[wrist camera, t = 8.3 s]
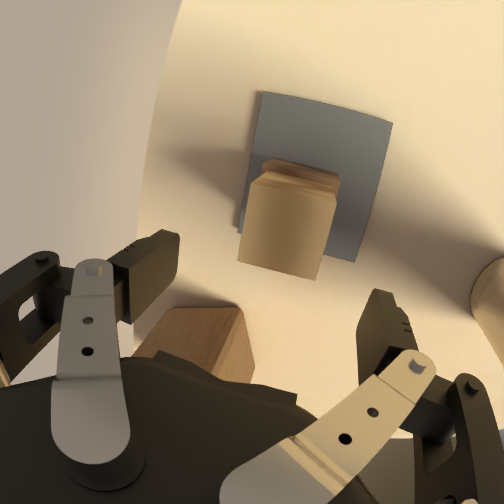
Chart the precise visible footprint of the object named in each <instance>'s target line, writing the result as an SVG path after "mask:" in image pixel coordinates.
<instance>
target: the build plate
mask: <svg viewBox="0 0 504 504" xmlns="http://www.w3.org/2000/svg"><path fill="white" fill-rule="evenodd" d="M392 125H393V123H392V122H389V121H385V120H382V119H379V118H376V117H373V116H369V115H366V114H363V113H359V112H356V111H352V110H348V109H345V108H341V107H337V106H333V105H329V104H325V103H321V102H316V101H312V100H307V99H303V98H298V97H293V96H288V95H282V94H277V93H271V92H265V91H263V96H262V101H261V106H260V111H259V116H258V122H257V127H256V132H255V137H254V143H253V148H252V153H251V159H250V164H249V170H248V175H247V181H246V186H245V192H244V197H243V203H242V208H241V214H240V220H239V225H238V231H237V233H241V234H242V230H243V224H244V219H245V213H246V208H247V202H248V196H249V191H250V185H251V183H252V182H253V181H254V180H256V179H257V178H258V177H260V176H261V171H262V165H263V162H265V161H267V160H269V159H271V158H277V159H281V160H286V161H290V162H295V163H299V164H303V165H307V166H311V167H315V168H319V169H323V170H327V171H331V172H335V173H337V174H338V177H339V179H340V181H341V182H340V186H339V190H338V194H337V198H336V202H337V205H336V209H335V212H334V216H333V220H332V224H331V227H330V231H329V235H328V238H327V242H326V245H325V249H324V252H323V254H324V255H328V256H331V257H335V258H339V259H343V260H347V261H351V262H355V259H356V256H357V253H358V250H359V247H360V244H361V241H362V238H363V235H364V231H365V228H366V225H367V222H368V218H369V215H370V212H371V208H372V205H373V201H374V198H375V194H376V191H377V187H378V183H379V179H380V176H381V172H382V168H383V164H384V160H385V156H386V152H387V148H388V143H389V139H390V134H391V130H392Z"/></svg>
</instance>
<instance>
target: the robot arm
mask: <svg viewBox="0 0 504 504" xmlns="http://www.w3.org/2000/svg"><path fill="white" fill-rule="evenodd" d="M179 243H180V236H179V234H177V233H174V232H170V231H167V230H163V229H161V230H159V231H158V232H156V233H155V234H153V235H152V236H150V237H146V238H142V239H139V240H136V241H135V242H133V243H132V244H130V245H129V246H127V247H126V248H124V250H121V251H119V252H118V253H117V254H115V255H114V256H112V257H111V258H109V259H108V260H102V259H88V260H84V261H82V262H80V263H78V264H77V266H76V267H75V269H74V268H68V267H62V266H60V260H59V256H58V254H56V253H55V252H51V251H40V252H37V253H34V254H32V255H30V256H28V257H27V258H25V259H24V260H22V261H20V262H19V263H17V264H16V265H14V266H13V267H11V268H9V269H8V270H6V271H5V272H3V273H2V274H1V275H0V504H379V503H378V501H377V500H376V499H375V497H374V496H373V495H372V493H371V492H370V490H369V489H368V488H367V487H366V485H365V483H364V482H363V481H362V479H361V478H360V476H359V475H358V473H359V472H360V471H361V469H363V467H364V466H365V465H366V464H367V463H368V462H369V461H370V460H371V459H372V458H373V457H374V456H375V455H376V453H377V452H378V451H379V450H380V449H381V448H382V447H383V445H384V444H385V443H386V442H387V441H388V440H389V438H390V437H391V436H392V435H393V434H394V432H395V431H396V430H397V429H398V428H400V429H403V430H405V431H407V432H410V433H412V434H413V440H414V441H413V442H414V463H415V464H414V465H415V504H504V450H503V446H502V442H501V438H500V434H499V430H498V427H497V423H496V420H495V416H494V413H493V410H492V406H491V403H490V400H489V397H488V394H487V391H486V389H485V387H484V385H483V384H482V382H481V381H480V380H479V379H478V378H476V377H475V376H473V375H471V374H468V373H462V374H459V375H458V376H457V377H456V379H455V380H454V381H453V382H451V381H448V380H446V379H444V378H442V377H439V376H437V375H435V374H436V367H435V365H434V363H433V361H432V360H431V359H430V358H429V357H428V356H426V355H425V354H423V353H422V352H419V350H418V347H417V344H416V340H415V337H414V334H413V333H412V332H413V331H412V328H411V326H410V322H409V319H408V316H407V315H406V314H405V312H404V311H403V310H402V309H401V308H399V307H397V306H396V303H395V300H394V296H393V294H392V293H390V292H387V291H383V290H379V289H376V288H375V289H374V290H373V291H372V293H371V295H370V297H369V299H368V302H367V304H366V306H365V309H364V311H363V313H362V315H361V318H360V320H359V322H358V326H357V330H356V344H357V360H358V380H359V387H358V388H357V389H355V390H354V391H353V392H352V393H351V394H350V395H348V396H347V397H346V398H345V399H343V400H342V401H341V402H340V403H339V404H337V405H336V406H335V407H334V408H332V409H331V410H330V411H328V412H327V413H326V414H325V415H323V416H322V417H321V418H319V419H317V418H316V417H315V416H313V415H312V414H311V413H309V412H308V411H306V410H305V409H303V408H301V407H299V406H297V405H296V400H297V394H295V393H291V392H287V391H283V390H280V389H276V388H272V387H268V386H265V385H259V384H249V383H239V382H231V381H224V380H221V379H219V378H218V377H216V376H214V375H212V374H211V373H209V372H207V371H206V370H204V369H202V368H201V367H199V366H197V365H196V364H194V363H192V362H190V361H188V360H185V359H182V358H180V357H177V356H174V355H172V354H169V353H167V352H164V351H162V350H158V352H157V353H156V354H155V356H154V357H153V358H149V357H124V358H120V351H119V344H118V333H117V322H119V321H120V320H121V321H123V322H125V323H128V324H130V325H131V324H132V323H133V322H134V321H135V320H136V319H137V318H138V317H139V316H140V315H141V314H142V313H143V312H144V311H145V310H146V308H147V307H148V306H149V305H150V304H151V303H152V302H153V301H154V300H155V299H156V298H157V297H158V296H159V295H160V294H161V293H162V292H163V291H164V290H165V289H166V288H167V287H168V286H169V285H170V284H171V282H172V281H173V280H174V278H175V275H176V272H177V266H178V254H179ZM31 296H33V300H34V304H35V309H34V310H32V311H31V312H30V313H29V314H28V315H27V316H25V317H24V318H23V319H22V320H21V321H19V317H18V312H19V308H20V306H21V305H22V304H23V303H24V302H25V301H27V300H28V299H29V298H30V297H31ZM470 307H471V312H472V314H473V316H474V318H475V319H476V321H477V322H478V324H479V326H480V327H481V329H482V331H483V332H484V334H485V336H486V337H487V339H488V341H489V342H490V344H491V346H492V347H493V349H494V351H495V353H496V354H497V356H498V358H499V360H500V362H501V363H502V365H503V367H504V257H502V258H500V259H497V260H495V261H494V262H492V263H491V264H490V265H489V266H488V267H487V268H485V269H484V271H483V272H482V273H481V275H480V276H479V277H478V279H477V281H476V283H475V285H474V287H473V290H472V294H471V298H470ZM59 332H60V337H59V348H58V360H57V374H56V375H55V376H51V377H46V378H42V379H38V380H34V381H29V382H25V383H21V384H16V385H11V386H10V382H12V380H13V379H14V378H15V377H16V376H17V375H18V374H19V373H20V372H21V371H22V370H23V369H24V368H25V366H26V365H27V364H28V363H29V362H30V361H31V360H32V359H33V358H34V357H35V356H36V355H37V354H38V353H39V352H40V351H41V350H42V349H43V348H44V347H45V346H46V345H47V343H49V342H50V341H51V340H52V339H53V337H55V336H56V335H57V334H58V333H59ZM454 434H456V439H457V445H456V449H455V451H454V453H453V449H452V442H451V437H452V436H453V435H454Z"/></svg>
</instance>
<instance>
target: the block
mask: <svg viewBox="0 0 504 504" xmlns="http://www.w3.org/2000/svg"><path fill="white" fill-rule="evenodd" d="M158 350H162V351H164V352H167V353H169V354H172V355H174V356H177V357H180V358H182V359H185V360H188V361H190V362H192V363H194V364H196V365H197V366H199V367H201V368H202V369H204V370H206V371H207V372H209V373H211V374H212V375H214V376H216V377H218V378H219V379H221V380H224V381H231V382H239V383H249V384H250V382H251V379H252V376H253V372H254V369H255V364H254V360H253V355H252V351H251V346H250V342H249V337H248V332H247V328H246V323H245V319H244V314H243V312H242V310H241V309H240V308H237V307H217V308H173V309H170V310H168V311H167V312H166V314H165V315H164V316H163V317H162V318H161V320H160V321H159V322H158V323H157V325H156V326H155V327H154V328H153V330H152V331H151V332H150V333H149V335H148V336H147V337H146V338H145V340H144V341H143V342H142V343H141V345H140V346H139V347H138V349H137V350H136V351H135V352H134V354H133V355H132V356H131V357H149V358H153V357H154V356H155V354H156V353H157V352H158Z"/></svg>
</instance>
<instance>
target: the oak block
mask: <svg viewBox="0 0 504 504" xmlns="http://www.w3.org/2000/svg"><path fill="white" fill-rule="evenodd" d="M336 205H337V202H336V198H335V194H334V190H333V186H331V185H327V184H324V183H320V182H316V181H311V180H307V179H303V178H299V177H295V176H290V175H286V174H282V173H277V172H273V171H266V172H265V173H264V174H262V175H261V176H260V177H258V178H257V179H256V180H254V181H253V182H252V183H251V185H250V191H249V196H248V202H247V208H246V213H245V219H244V224H243V230H242V236H241V242H240V247H239V253H238V259H237V261H239V262H243V263H247V264H251V265H255V266H259V267H263V268H267V269H270V270H274V271H278V272H282V273H286V274H290V275H294V276H298V277H302V278H306V279H310V280H314V281H315V279H316V276H317V272H318V269H319V266H320V262H321V259H322V256H323V252H324V249H325V245H326V242H327V238H328V235H329V231H330V227H331V224H332V220H333V216H334V212H335V209H336Z"/></svg>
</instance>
